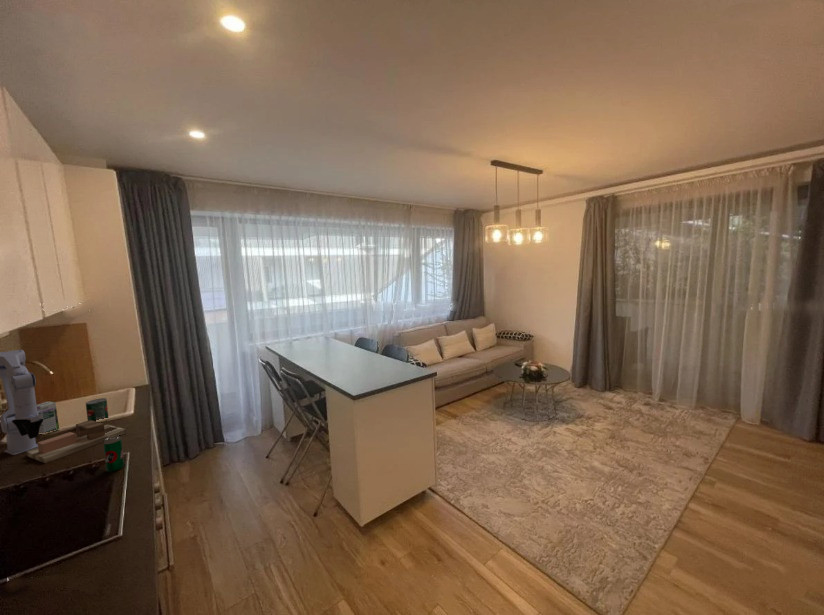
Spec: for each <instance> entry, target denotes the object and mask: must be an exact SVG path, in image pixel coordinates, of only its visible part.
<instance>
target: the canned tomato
mask: <svg viewBox="0 0 824 615" xmlns="http://www.w3.org/2000/svg"><path fill="white" fill-rule="evenodd" d="M85 409H86V418H87V421H88V420H92V421H96V420H99V419H104V418H109V412H108V401H107V398H106V397H105V398H95V399H91V400H89V401H87V402H85Z"/></svg>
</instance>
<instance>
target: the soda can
mask: <svg viewBox="0 0 824 615" xmlns="http://www.w3.org/2000/svg"><path fill="white" fill-rule="evenodd" d="M102 443H103V451H104V452H103V453H104V461H105V470H106V472H108V473H113V471H114V472H116V470H117V471H119V470H121V469H122V468H124V466H125V459H124V450H123V440H122V438H121V436H113V437H110V438H107V439H105V441H104V442H102ZM118 469H119V470H118Z"/></svg>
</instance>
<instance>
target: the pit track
mask: <svg viewBox="0 0 824 615" xmlns="http://www.w3.org/2000/svg"><path fill="white" fill-rule="evenodd" d="M75 430H76V431H75V432H76V443H73V444H70V445H68V446H65V447H62V448H59V449H56V450H53V451H50V452H47V453H45V454H43V453H40V452H39V450H38V447H37V448H34V449H31V450H28V451H25V452H26V456H27V457H29V458H31V459H33V460H36V461H38V462H41V463H44V464H47V463H50V462H52V461H55V460H58V459H61V458H63V457H66V456H69V455H71V454H74V453H77V452H80V451H82V450H85V449H88V448H90V447H94V446H96V445H98V444H101V443H104V442H105V439H107V438H110V437H113V436H119V435H121V436H123V435H126V434H127V429H126V428H122V427H119V426H115V425H111V424H104V422H102V423H100V422H96V421H92V420H88V419H87V420H85V421H82V422H80V423H75ZM109 430H112V431H109ZM107 431H109V432H107ZM105 432H107V433H105ZM125 433H126V434H125ZM122 434H123V435H122Z"/></svg>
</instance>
